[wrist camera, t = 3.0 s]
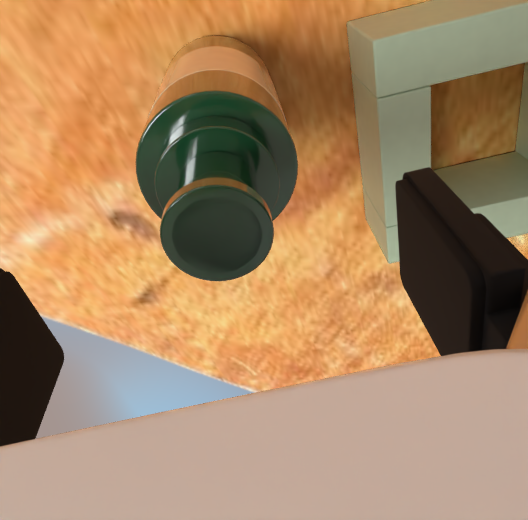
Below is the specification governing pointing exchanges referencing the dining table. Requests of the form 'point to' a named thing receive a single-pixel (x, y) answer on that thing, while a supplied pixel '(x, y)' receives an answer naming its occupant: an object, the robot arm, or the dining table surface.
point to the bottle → (216, 159)
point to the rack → (419, 105)
